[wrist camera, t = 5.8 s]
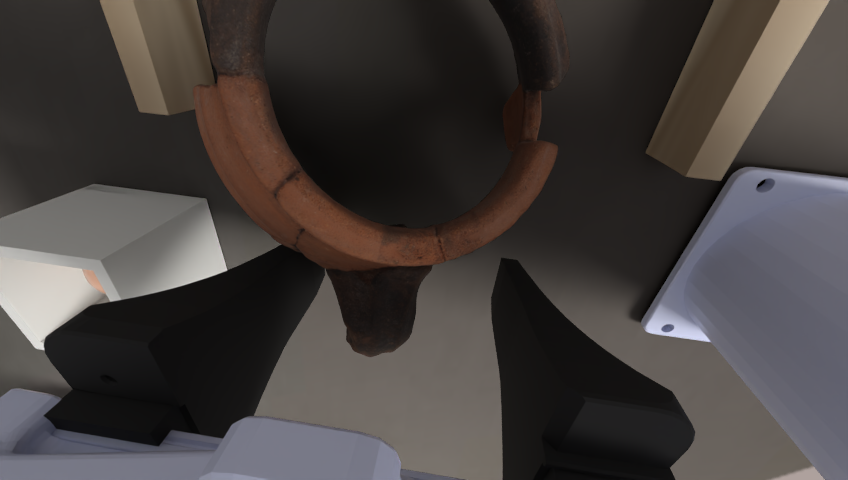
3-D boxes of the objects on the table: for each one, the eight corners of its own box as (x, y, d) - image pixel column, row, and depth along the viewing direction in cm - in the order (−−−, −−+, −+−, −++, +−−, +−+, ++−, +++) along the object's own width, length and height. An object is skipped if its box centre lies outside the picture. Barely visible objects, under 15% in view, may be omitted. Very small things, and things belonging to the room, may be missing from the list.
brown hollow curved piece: (209, 6, 11) (-5, -333, 4) (457, 17, 14) (631, -161, 6) (279, 317, 14) (243, 492, 7) (471, 276, 17) (600, 364, 9)
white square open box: (206, 198, 15) (100, 260, 10) (233, 290, 18) (158, 368, 13) (94, 183, 15) (-54, 237, 11) (138, 276, 18) (35, 348, 14)
